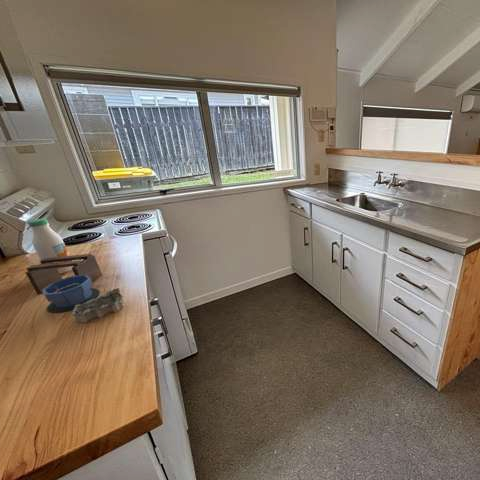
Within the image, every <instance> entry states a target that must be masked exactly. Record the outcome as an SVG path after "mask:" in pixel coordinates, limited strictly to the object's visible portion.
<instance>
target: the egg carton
mask: <svg viewBox="0 0 480 480" xmlns="http://www.w3.org/2000/svg"><path fill="white" fill-rule="evenodd" d="M123 302H124V298H123V296H122V294H121V291H120V288H112V290H108V291H107V292H105V294H101V295H99V296H97V297H96V298H95V299H92V300H89V301H87V302H86V303H83V304H82V305H81V304H78V305H75V307H74V309H73V310H71V311H72V313H71V315H73V317H74V318H75V320H76V322H77V323H82V324H84V323H87V322H89V321H90V320H91V319H94V318H102V317H105V315H106V314H108V313H112V312H113V313H117V312H119V311H120V310H122V309H123V308H124V304H123Z"/></svg>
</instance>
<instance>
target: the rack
mask: <svg viewBox="0 0 480 480" xmlns="http://www.w3.org/2000/svg"><path fill="white" fill-rule="evenodd" d="M71 260H73V261H71ZM61 261H69V262H61ZM39 262H40V264H32V265H30V266H28V267H26V270H27V271H25V275H26V277H27V278H28V280H29V282H30V284H31V286H32V287H33V289H34V291H35V292H36V294H37V295H41V294H44V293H43V292H42V290H43V289H44V288H46V287H47V286H48V285H50V284H51V283H53V282H56V281H59V280H61V279H63V277H62V276H61V275H62V274H60V273H59V271H58V269H57V268H61V267H71V266H73V267H72V270H71V271H72V273H73V274H74V276H77V275H87V276H89V277H90V278H91V280H92V283H93V284H94V282H95V281H97V280H98V279H99V278H101V277H102V276H103V273H102V271H101V269H100V266H99V264H98V262H97V259H96V256H95V255H94V254H91V253H84V254H73V255H70V256H63V257H52V258H44V259H42V260H39ZM54 262H59V263H54ZM78 284H81V283H78Z"/></svg>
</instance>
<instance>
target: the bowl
mask: <svg viewBox="0 0 480 480" xmlns="http://www.w3.org/2000/svg"><path fill="white" fill-rule="evenodd" d="M79 283H81V284H79ZM93 286H94V282H93V283H92V280H91V278H90V277H89V276H87V275H77V276H75V275H71V276H68V277H65V278H62V279H61V280H59V281H56V282H53V283H51V284H50V285H48V286H47V287H46V288H44V289H43V290H42V292H43V293H42V294H43V295H44V297H45V299H46V300H47V302H49V303H52V302H54V304H55V305H56V307H58V308H66V307H70V306H74V305H77V304H79V303H81V302H83V301H85V300H87V299H88V298H90V297H91V295H92V290H91V288H93Z"/></svg>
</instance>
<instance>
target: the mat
mask: <svg viewBox="0 0 480 480" xmlns="http://www.w3.org/2000/svg"><path fill="white" fill-rule="evenodd" d="M91 290H92V295H91V297H90V298H88V299H87V300H85V301H83V302H81V303H79V304H81V305H82V304H83V303H86V302H87V301H89V300H92V299H96V298H98V297H99V296H100V289H98V288H95V287H94V288H93V287H91ZM77 305H78V304H77ZM74 307H75V305H74V306H70V307H66V308H58V307H56V305H55V304H54V302H49V304H48V306H47V308H46V309H47V312H49V313H51V314H52V313H53V314H58V313H67V312H70V311H73V309H74Z"/></svg>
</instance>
